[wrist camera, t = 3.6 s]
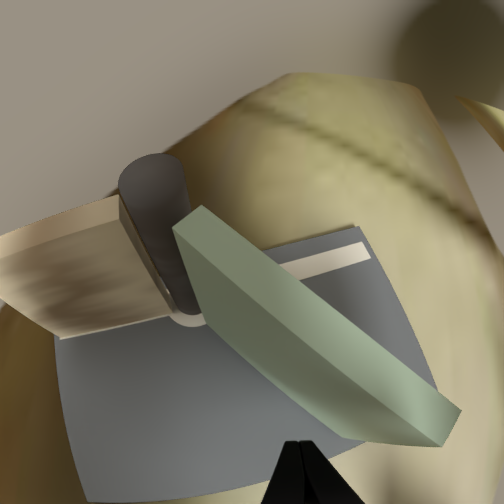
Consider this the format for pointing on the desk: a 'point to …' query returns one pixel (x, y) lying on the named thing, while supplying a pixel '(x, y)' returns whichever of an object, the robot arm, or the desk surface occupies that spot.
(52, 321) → the fixed fence panel
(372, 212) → the desk surface
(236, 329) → the panel
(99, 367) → the card
